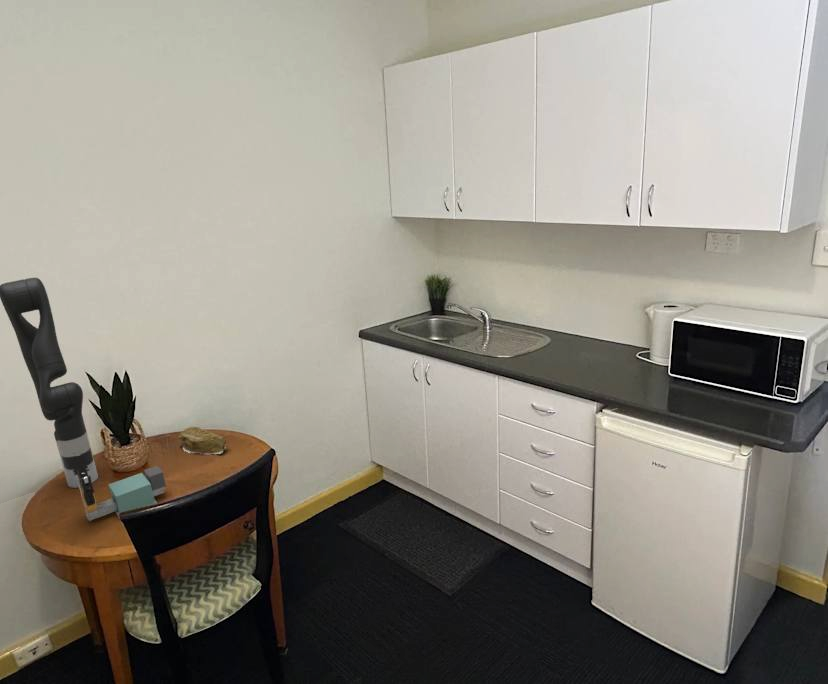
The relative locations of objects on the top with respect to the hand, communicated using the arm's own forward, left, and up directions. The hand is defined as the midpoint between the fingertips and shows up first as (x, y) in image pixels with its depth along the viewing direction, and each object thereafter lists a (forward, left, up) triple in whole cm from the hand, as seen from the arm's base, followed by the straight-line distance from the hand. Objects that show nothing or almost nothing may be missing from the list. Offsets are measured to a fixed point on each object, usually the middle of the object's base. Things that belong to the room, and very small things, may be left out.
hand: (88, 499), depth 174 cm
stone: (-23, +42, -8) cm, 48 cm away
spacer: (0, +19, -3) cm, 19 cm away
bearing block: (0, +12, -7) cm, 14 cm away
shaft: (0, +10, -6) cm, 11 cm away
